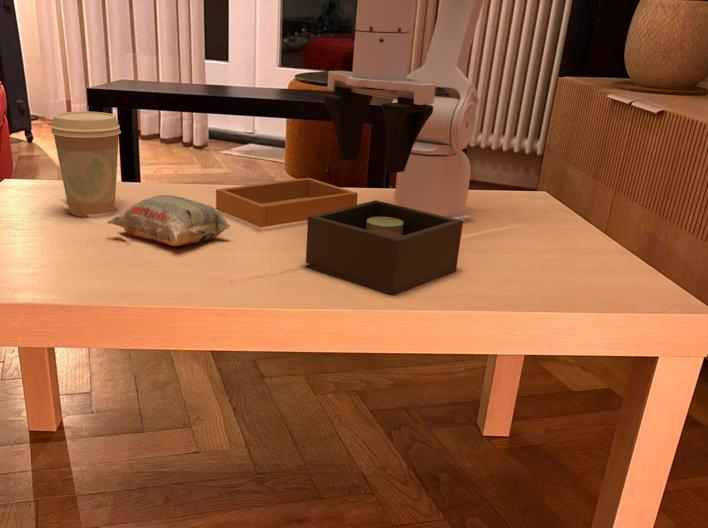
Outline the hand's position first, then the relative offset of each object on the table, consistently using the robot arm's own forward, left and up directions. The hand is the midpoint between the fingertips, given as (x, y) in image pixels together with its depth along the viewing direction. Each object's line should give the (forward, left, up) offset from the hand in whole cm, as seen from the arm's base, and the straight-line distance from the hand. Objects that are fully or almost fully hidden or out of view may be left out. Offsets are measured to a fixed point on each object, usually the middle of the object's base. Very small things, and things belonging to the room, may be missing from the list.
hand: (371, 165), depth 86 cm
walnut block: (+6, +9, -9) cm, 14 cm away
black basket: (+4, +7, -9) cm, 12 cm away
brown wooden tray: (-1, -17, -9) cm, 20 cm away
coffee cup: (+21, -30, -10) cm, 38 cm away
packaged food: (+19, -13, -10) cm, 25 cm away
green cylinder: (+2, +5, -9) cm, 10 cm away
